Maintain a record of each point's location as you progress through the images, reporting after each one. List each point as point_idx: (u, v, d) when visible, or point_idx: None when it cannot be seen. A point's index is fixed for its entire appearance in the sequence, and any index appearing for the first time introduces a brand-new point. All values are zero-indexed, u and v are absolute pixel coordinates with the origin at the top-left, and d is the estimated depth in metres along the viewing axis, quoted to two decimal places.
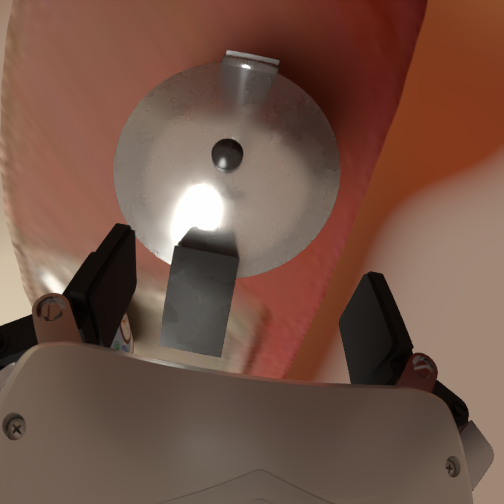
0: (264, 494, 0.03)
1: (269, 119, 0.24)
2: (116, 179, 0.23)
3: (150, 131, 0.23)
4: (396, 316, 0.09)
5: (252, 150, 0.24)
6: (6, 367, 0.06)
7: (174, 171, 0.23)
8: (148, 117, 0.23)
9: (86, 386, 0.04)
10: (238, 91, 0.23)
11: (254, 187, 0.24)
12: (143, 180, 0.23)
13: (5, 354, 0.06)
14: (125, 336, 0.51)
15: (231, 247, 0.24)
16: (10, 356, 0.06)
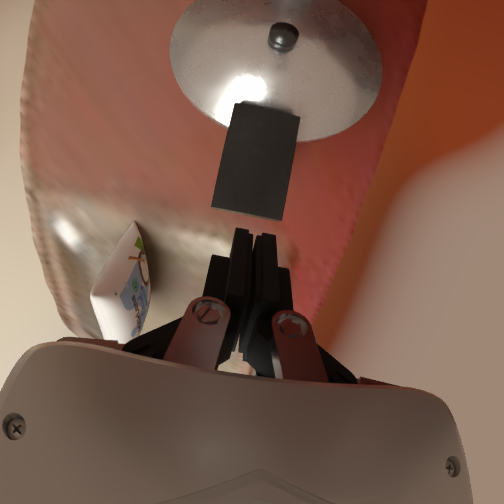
0: (264, 494, 0.03)
1: (315, 19, 0.21)
2: (172, 54, 0.20)
3: (207, 19, 0.20)
4: (271, 272, 0.10)
5: (304, 38, 0.21)
6: None
7: (231, 48, 0.21)
8: (205, 10, 0.20)
9: (86, 386, 0.04)
10: None
11: (308, 65, 0.21)
12: (200, 54, 0.21)
13: None
14: (144, 277, 0.50)
15: (289, 111, 0.22)
16: None
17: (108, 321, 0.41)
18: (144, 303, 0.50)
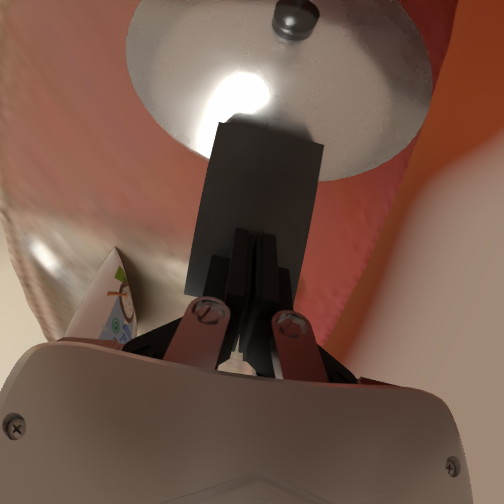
0: (264, 494, 0.03)
1: None
2: (129, 47, 0.13)
3: None
4: (271, 272, 0.10)
5: (325, 21, 0.14)
6: None
7: (217, 34, 0.13)
8: None
9: (86, 386, 0.04)
10: None
11: (332, 60, 0.14)
12: (170, 45, 0.13)
13: None
14: (127, 313, 0.42)
15: (306, 134, 0.14)
16: None
17: None
18: None
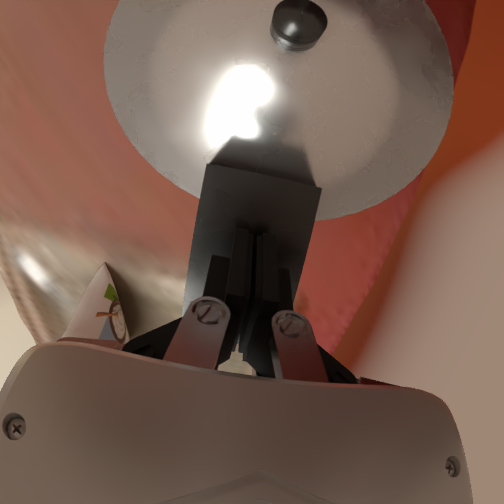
0: (264, 494, 0.03)
1: None
2: (107, 65, 0.11)
3: None
4: (271, 272, 0.10)
5: (334, 24, 0.11)
6: None
7: (205, 46, 0.12)
8: None
9: (86, 386, 0.04)
10: None
11: (340, 77, 0.12)
12: (152, 62, 0.12)
13: None
14: (118, 334, 0.39)
15: (304, 169, 0.13)
16: None
17: None
18: None
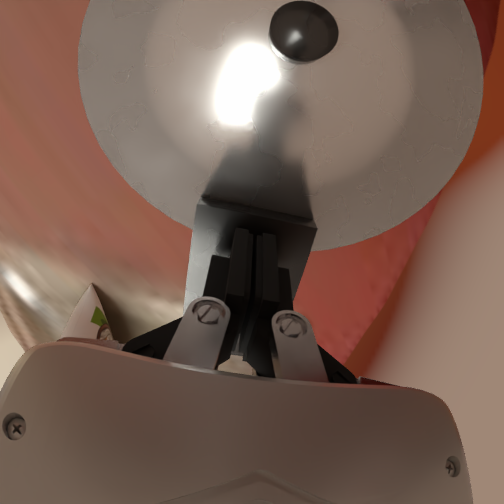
0: (264, 494, 0.03)
1: None
2: (83, 86, 0.10)
3: None
4: (271, 272, 0.10)
5: (348, 28, 0.09)
6: None
7: (191, 59, 0.10)
8: None
9: (86, 386, 0.04)
10: None
11: (350, 96, 0.11)
12: (131, 81, 0.10)
13: None
14: None
15: (301, 202, 0.13)
16: None
17: None
18: None
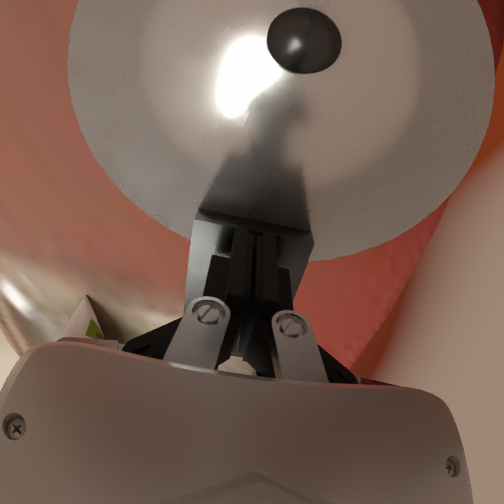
0: (264, 494, 0.03)
1: None
2: (75, 97, 0.10)
3: None
4: (271, 272, 0.10)
5: (353, 34, 0.09)
6: None
7: (184, 70, 0.10)
8: None
9: (86, 386, 0.04)
10: None
11: (352, 108, 0.10)
12: (123, 93, 0.10)
13: None
14: None
15: (299, 215, 0.13)
16: None
17: None
18: None
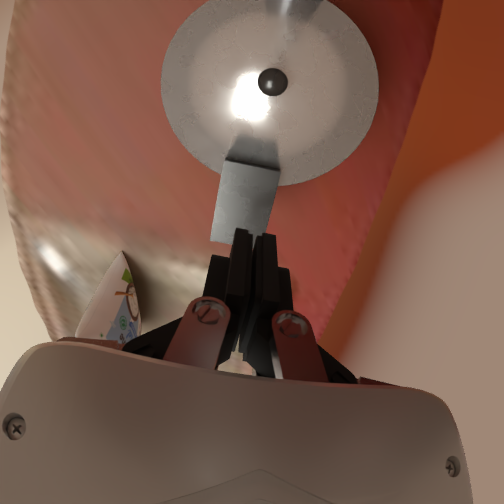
0: (264, 494, 0.03)
1: (313, 46, 0.20)
2: (165, 101, 0.23)
3: (194, 55, 0.21)
4: (271, 272, 0.10)
5: (296, 75, 0.22)
6: None
7: (221, 93, 0.23)
8: (191, 41, 0.20)
9: (86, 386, 0.04)
10: (282, 16, 0.19)
11: (296, 109, 0.24)
12: (191, 101, 0.23)
13: None
14: (133, 312, 0.46)
15: (274, 160, 0.26)
16: None
17: None
18: None
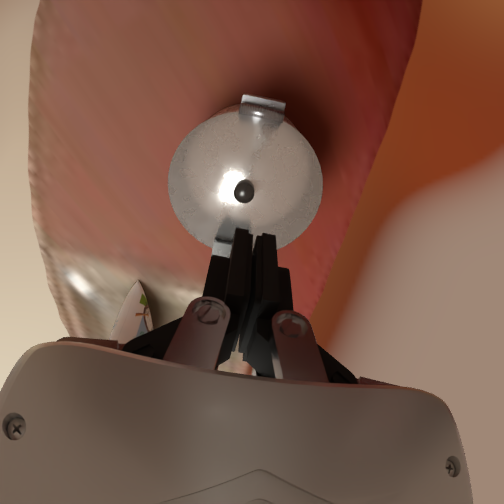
0: (264, 494, 0.03)
1: (274, 161, 0.34)
2: (171, 200, 0.37)
3: (190, 169, 0.35)
4: (271, 272, 0.10)
5: (261, 183, 0.36)
6: None
7: (210, 196, 0.37)
8: (187, 158, 0.34)
9: (86, 386, 0.04)
10: (251, 139, 0.33)
11: (262, 207, 0.37)
12: (190, 201, 0.37)
13: None
14: (148, 327, 0.60)
15: None
16: None
17: None
18: None
